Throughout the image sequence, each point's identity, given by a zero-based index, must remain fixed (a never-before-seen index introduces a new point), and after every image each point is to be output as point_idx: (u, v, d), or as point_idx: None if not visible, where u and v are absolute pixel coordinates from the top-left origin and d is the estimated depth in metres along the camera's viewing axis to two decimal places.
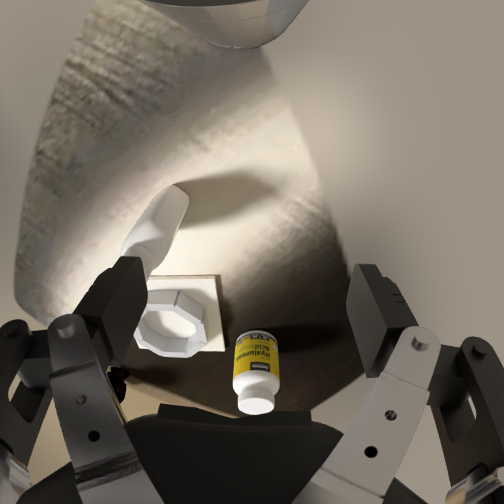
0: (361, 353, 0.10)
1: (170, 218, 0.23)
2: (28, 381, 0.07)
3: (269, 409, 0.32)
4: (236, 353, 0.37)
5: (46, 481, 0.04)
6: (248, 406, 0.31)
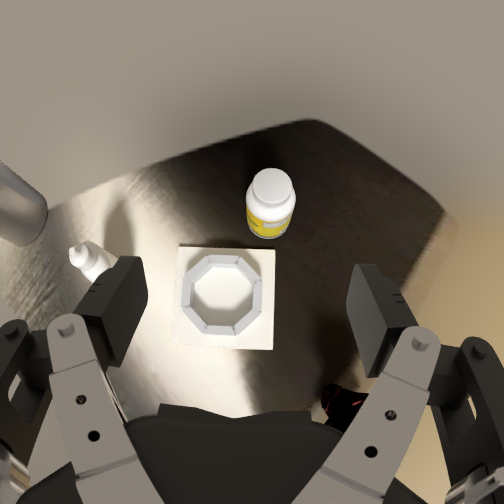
0: (361, 353, 0.10)
1: None
2: (28, 381, 0.07)
3: (278, 172, 0.31)
4: (258, 229, 0.37)
5: (47, 481, 0.04)
6: (271, 192, 0.30)
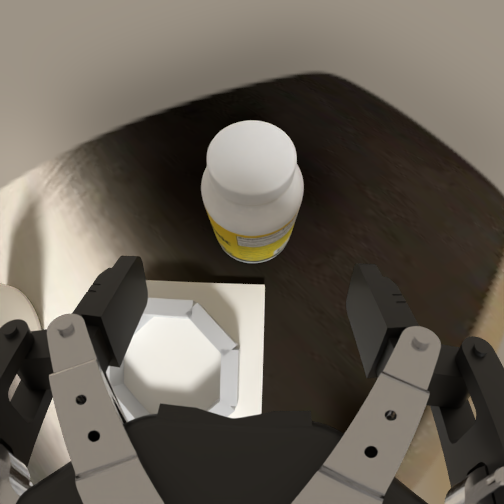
0: (361, 353, 0.10)
1: None
2: (28, 381, 0.07)
3: (266, 128, 0.14)
4: (232, 249, 0.19)
5: (46, 481, 0.04)
6: (248, 169, 0.13)
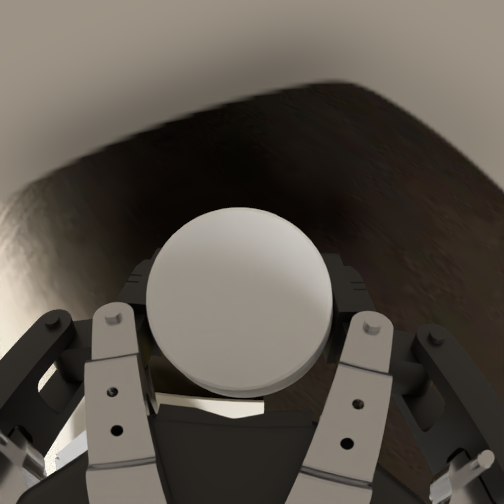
0: None
1: None
2: (64, 372, 0.07)
3: (270, 228, 0.07)
4: None
5: (46, 481, 0.04)
6: (230, 336, 0.06)
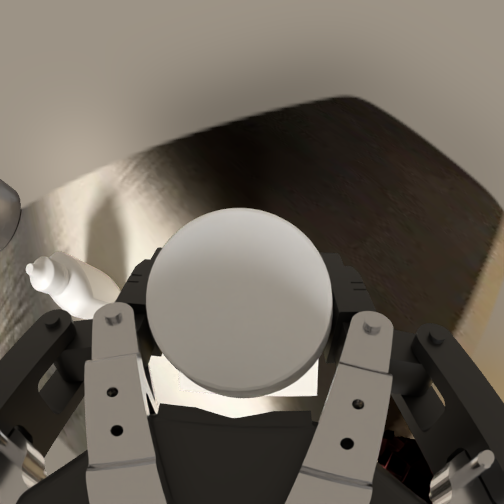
0: None
1: None
2: (64, 372, 0.07)
3: (270, 228, 0.07)
4: None
5: (46, 481, 0.04)
6: (230, 337, 0.06)
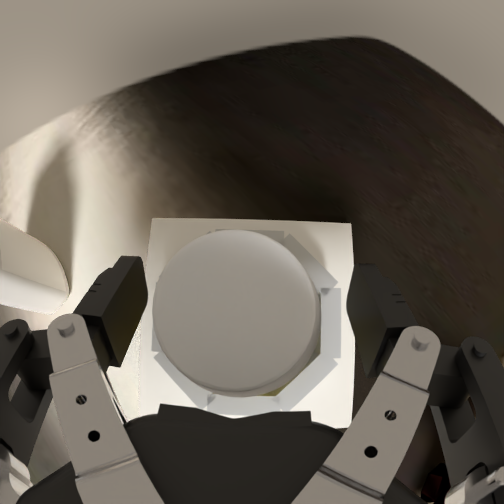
0: (361, 353, 0.10)
1: None
2: (28, 381, 0.07)
3: (261, 248, 0.08)
4: None
5: (47, 481, 0.04)
6: (225, 344, 0.07)
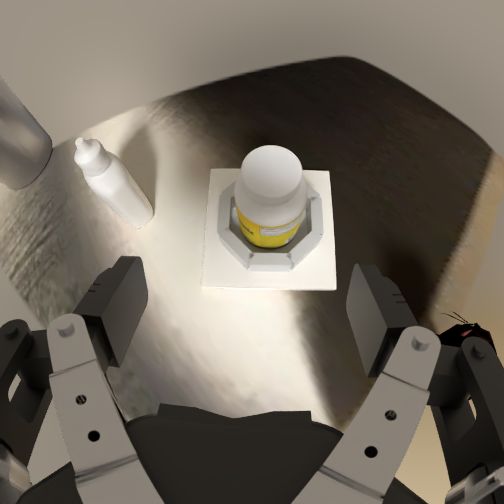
0: (361, 353, 0.10)
1: None
2: (28, 381, 0.07)
3: (281, 151, 0.20)
4: (254, 238, 0.26)
5: (46, 481, 0.04)
6: (269, 180, 0.19)
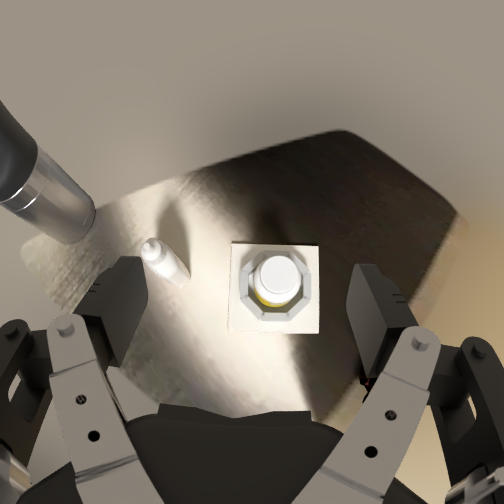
0: (361, 353, 0.10)
1: None
2: (28, 381, 0.07)
3: (285, 260, 0.33)
4: (265, 303, 0.38)
5: (46, 481, 0.04)
6: (278, 281, 0.32)
